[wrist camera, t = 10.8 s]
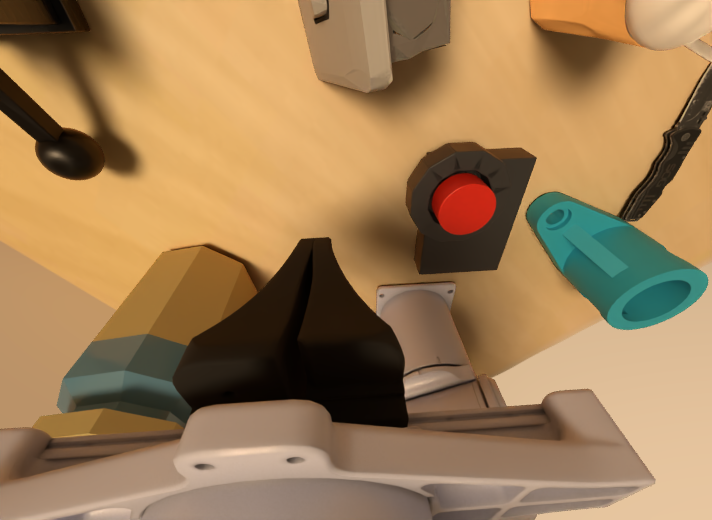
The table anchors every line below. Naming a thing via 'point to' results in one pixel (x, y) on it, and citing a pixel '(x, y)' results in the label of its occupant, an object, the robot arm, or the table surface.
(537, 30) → the table surface
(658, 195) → the folding knife
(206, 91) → the table surface
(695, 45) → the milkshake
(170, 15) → the table surface
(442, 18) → the electrical switch
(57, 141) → the lever
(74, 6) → the bracket
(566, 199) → the bracket
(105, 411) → the jar
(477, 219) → the button
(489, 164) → the control block
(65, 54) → the table surface
